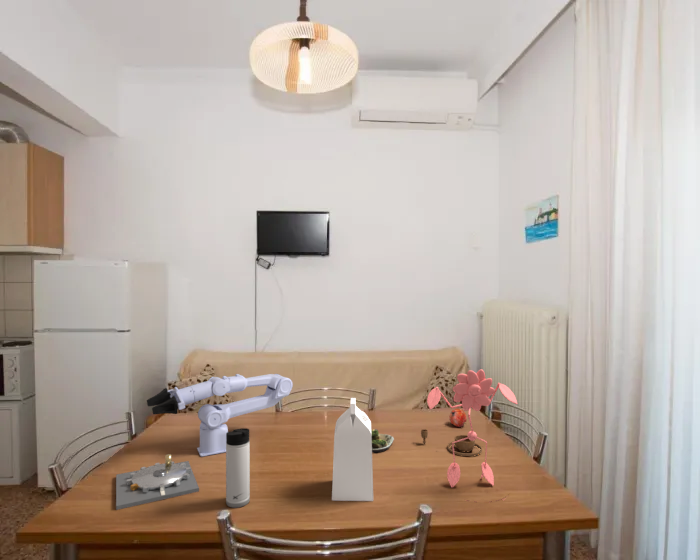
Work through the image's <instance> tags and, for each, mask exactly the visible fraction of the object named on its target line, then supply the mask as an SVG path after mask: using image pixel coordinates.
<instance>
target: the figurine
mask: <svg viewBox="0 0 700 560" xmlns="http://www.w3.org/2000/svg"><path fill="white" fill-rule="evenodd" d="M466 373H467V374H466ZM466 373H459V374H457V376H456V379H457V382H459V383H456V385H454V386H453V387H452V391H453V392H454V396H453V402H455V403H460V402H461V404H456V405H453V406H452V404H451V403H450V402H449V401H448V399H447V398H446V397H445V396H444V394H443V392H441V390H440V389H439V387H438V386H436V387H435V388H432V389H431V391H429V393H428V395H427V399H426V403H427V405H428V408H429V410H432V409H433V408H435V407H436V406H437V405H438V404H439V402H440V400H441V398H443V399H444V401H445V402H446V404H447V406H449V407H450V408H451V409H452V410H453V409H457V408H460V407H462V410H463V411H464V412H468V413H467V417H468V418H467V419H468V422H469V426H470V431H468V432H467V435H468V437H467V438H464V439H461V440H458V441H455V440H454V441H455V442H454V441H452V442H453V443H456V442H459V441H462V440H465V439H468V438H469V440H471V441H474V440H479V441H482V442H484V443H485V455H484V456H485V457H484V461H483V462H481V464H480V465H481V466H480V467H481V475H480V479H481V478H485V481H487V482H488V484H490V485H491V486H493V487H494V485H495V484H494V483H495V477H494V471H493V470H492V468H491V466H490V465H489V464H488V463H487V453H488V441H487V440H485V439H482V438H480V437H478V434H477V432H476V431H474V429H473V424H472V418H471V410H474V411H475V412H479V411H480V410H481V409H482V406H484V407H486V406H487V407H490V405H491V403H492V401H493V398H494V396H495V394H496V393H497V391H498V390H499V391H500V393H501V395H502V396H503V397H504V398H505V399H506V400H508V401H509V402H510V403H513V404H515V405H518V400H517V398H516V395H515V393H514V392H513V391H512V390H511V389H510V387H508V386H507V385H505V384H504V383H501V382H498V383H497V385H496V387H495V388H494V387H491V386H492V384H493V378H491V377H489V378H486V374H485V371H484V370H483V369H478V371H477V372H475V371H474V370H468V371H467V372H466ZM489 397H490V398H489ZM471 408H472V409H471ZM453 443H452V447H451V448H452V450H453V453H452V455H453V462H451V463H450V465H449V466H448V469H447V472H446V476H447V477H446V478H447V480H448V483H449V486H450V487H451V488H454V487H455V486H456V484H457V483H458V482H459V481H460V479H461V468H460V465H459V464H458V463H457V462H456V455H455V454H454V451H455V448H454V447H455V446H454V444H453ZM507 497H508V495H506V496H505V497H503V498H500V499H497V500H496V502H497V501H501V500H505V499H507ZM465 500H466V499H465ZM466 501H467V502H469V500H466ZM473 501H474V500H473ZM492 501H493V500H492ZM492 501H490V503H493V502H492ZM473 503H476V501H474V502H473Z"/></svg>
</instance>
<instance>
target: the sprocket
mask: <svg viewBox="0 0 700 560" xmlns="http://www.w3.org/2000/svg"><path fill="white" fill-rule="evenodd" d="M164 457H165V462H164V463H160V462H156V463H154V464H153V465H150V466H147V467H146V466H142V467H140V469H139V470H140V471H138V470H137V471H138V472H137V473H131V474H130V479H127V485H131V484H132V485H131V490H136V489H141V490H143V492H148V491H149V490H156V489H160V491H163V490H165V488H166V487H170V486H172V485H175V486H178V485H180V481H182V480H183V479H188V478H189V473H191V469H192V467H191V468H190V467H188V468H186V464H185V463H182V464H175V461H173V459H172V454H171V453H168V454H165V455H164Z"/></svg>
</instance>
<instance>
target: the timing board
mask: <svg viewBox="0 0 700 560" xmlns="http://www.w3.org/2000/svg"><path fill="white" fill-rule="evenodd" d="M182 463H185V464H186V468H188V467H190V468H191V473H189V478H188V479H183V480H182V481H180V485H178V486H175V485H172V486H170V487H166V488H165V490H163V491H160V489H156V490H149V491H148V492H143V490H141V489H136V490H131V485H132V484H131V485H127V479H130V474H131V473H137V472H138V471H140V469H139V470H133V471H129V472H123V473H118V474H115V476H116V477H115V481H116V482H115V485H116V486H115V487H116V488H115V491H116V492H115V494H116V497H115V498H116V499H115V501H116V502H115V510H116V511H118V510H122V509H126V508H131V507H135V506H140V505H144V504H150V503H153V502H158V501H162V500H166V499H171V498H176V497H180V496H184V495H189V494H192V493H198V492H200V487H199V485H198V482H197V480H196V477H195V474H194V472H193V470H192V466H191V464H190V461H189V460H187V461H181V462H177V463H176V462H174V464H182Z"/></svg>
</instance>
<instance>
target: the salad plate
mask: <svg viewBox="0 0 700 560" xmlns="http://www.w3.org/2000/svg"><path fill="white" fill-rule="evenodd" d="M371 434H372V454H378V453H384V452H385V451H387V450H389V449H390V447H391V445H393V442H394V441H395V438H394V436H392V435H390V434H386V433H384V434H383V433H379V430H378V429H377V428H371Z"/></svg>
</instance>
